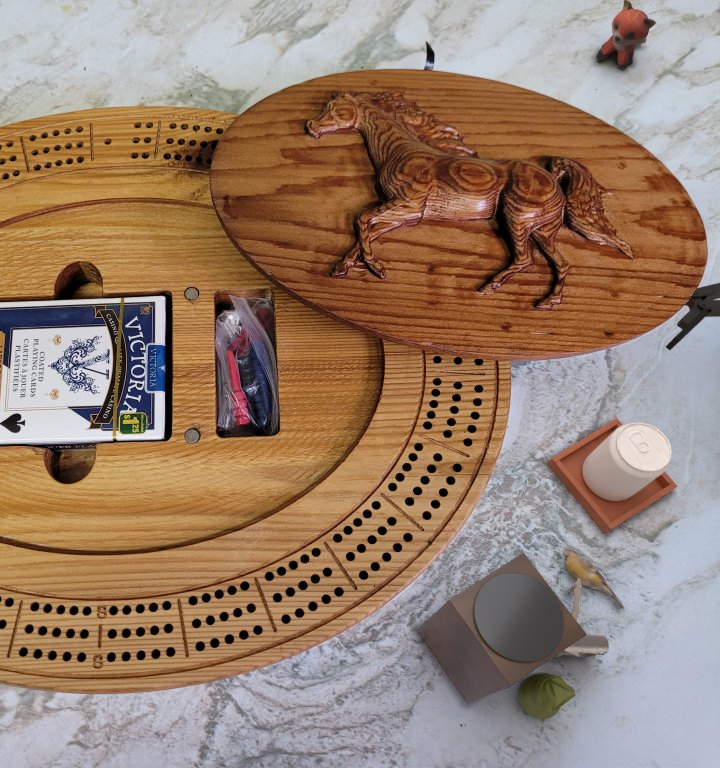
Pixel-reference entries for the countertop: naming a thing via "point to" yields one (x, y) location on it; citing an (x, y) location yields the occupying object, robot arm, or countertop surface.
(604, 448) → the beverage can
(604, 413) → the countertop surface
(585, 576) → the decorative sculpture
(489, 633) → the coaster
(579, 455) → the tray
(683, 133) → the countertop surface
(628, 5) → the stuffed fox
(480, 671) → the stand
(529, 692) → the green pointed bulb
